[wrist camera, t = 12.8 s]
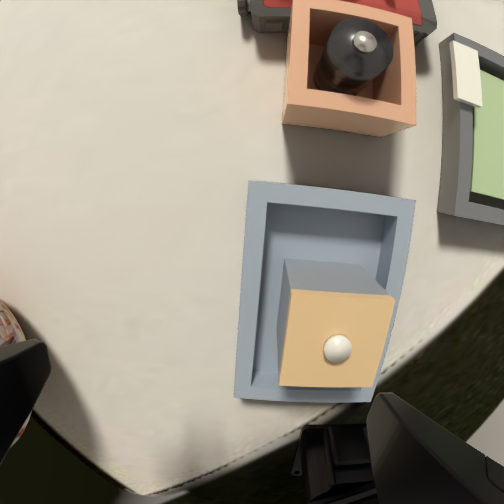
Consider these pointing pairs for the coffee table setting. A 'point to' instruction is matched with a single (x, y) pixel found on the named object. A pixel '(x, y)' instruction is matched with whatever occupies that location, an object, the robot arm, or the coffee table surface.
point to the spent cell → (353, 57)
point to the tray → (311, 248)
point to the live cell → (330, 324)
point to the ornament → (10, 340)
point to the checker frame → (463, 123)
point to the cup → (342, 105)
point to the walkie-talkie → (279, 3)
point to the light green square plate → (488, 139)
